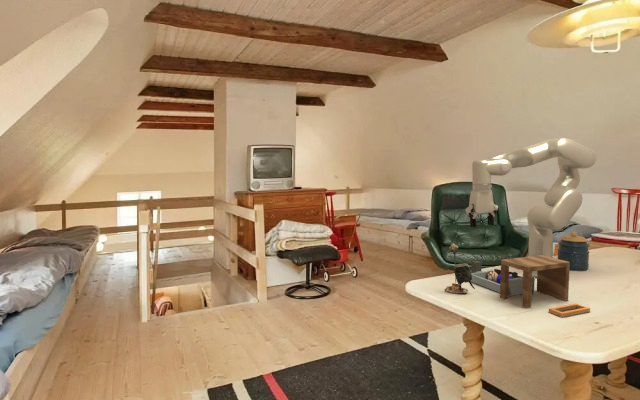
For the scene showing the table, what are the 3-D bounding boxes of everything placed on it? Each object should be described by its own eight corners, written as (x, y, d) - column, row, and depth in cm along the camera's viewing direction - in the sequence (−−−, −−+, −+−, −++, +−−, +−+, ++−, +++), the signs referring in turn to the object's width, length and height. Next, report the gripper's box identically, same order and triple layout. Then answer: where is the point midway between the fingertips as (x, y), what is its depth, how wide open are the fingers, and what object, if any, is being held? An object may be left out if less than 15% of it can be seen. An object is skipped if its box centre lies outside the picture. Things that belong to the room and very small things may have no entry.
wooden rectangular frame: (575, 307, 134) (575, 303, 134) (589, 312, 130) (590, 308, 129) (548, 312, 130) (548, 308, 130) (562, 317, 125) (562, 313, 125)
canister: (588, 266, 187) (589, 231, 186) (589, 272, 177) (590, 235, 175) (557, 263, 195) (558, 228, 193) (556, 268, 184) (557, 232, 182)
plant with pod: (469, 297, 145) (470, 246, 144) (441, 291, 153) (442, 242, 151) (477, 292, 151) (478, 243, 149) (450, 286, 159) (450, 239, 157)
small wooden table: (539, 291, 152) (540, 255, 151) (568, 300, 141) (569, 262, 139) (499, 297, 145) (500, 259, 144) (526, 308, 134) (528, 267, 132)
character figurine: (520, 295, 148) (483, 286, 160) (528, 289, 153) (491, 281, 164) (520, 275, 147) (482, 268, 159) (528, 270, 152) (490, 264, 163)
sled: (485, 274, 174) (485, 259, 174) (534, 291, 150) (534, 274, 150) (461, 277, 170) (461, 262, 169) (507, 295, 146) (508, 278, 145)
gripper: (490, 186, 174) (490, 223, 176) (459, 188, 169) (460, 227, 170) (503, 186, 167) (503, 225, 169) (472, 189, 162) (472, 229, 163)
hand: (482, 226), depth 170 cm, fingers open, 9 cm apart
